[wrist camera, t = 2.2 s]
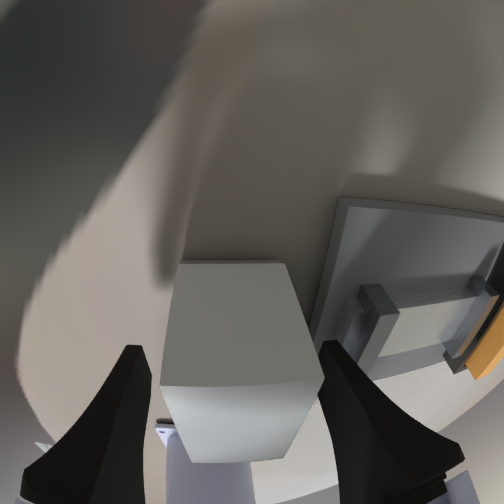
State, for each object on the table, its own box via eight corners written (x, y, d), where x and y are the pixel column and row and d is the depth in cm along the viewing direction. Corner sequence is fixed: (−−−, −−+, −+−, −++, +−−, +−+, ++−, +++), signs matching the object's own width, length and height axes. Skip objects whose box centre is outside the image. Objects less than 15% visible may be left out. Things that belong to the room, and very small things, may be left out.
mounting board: (462, 344, 18) (467, 352, 18) (292, 380, 17) (295, 393, 16) (525, 221, 12) (533, 227, 11) (338, 196, 10) (348, 206, 10)
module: (265, 359, 15) (283, 458, 10) (192, 361, 15) (191, 462, 9) (280, 252, 11) (324, 378, 6) (180, 252, 11) (159, 385, 6)
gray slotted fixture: (469, 346, 17) (480, 362, 15) (314, 383, 15) (322, 410, 14) (525, 240, 12) (544, 255, 10) (366, 232, 10) (391, 261, 8)
